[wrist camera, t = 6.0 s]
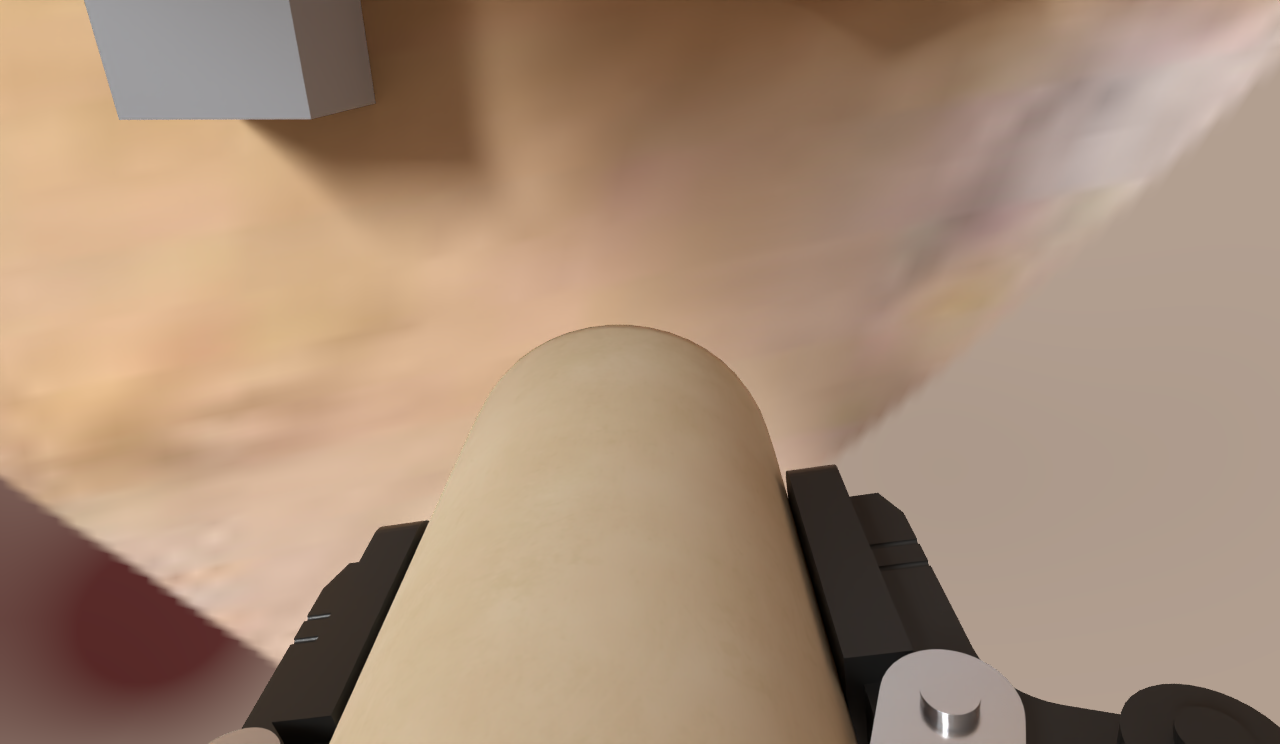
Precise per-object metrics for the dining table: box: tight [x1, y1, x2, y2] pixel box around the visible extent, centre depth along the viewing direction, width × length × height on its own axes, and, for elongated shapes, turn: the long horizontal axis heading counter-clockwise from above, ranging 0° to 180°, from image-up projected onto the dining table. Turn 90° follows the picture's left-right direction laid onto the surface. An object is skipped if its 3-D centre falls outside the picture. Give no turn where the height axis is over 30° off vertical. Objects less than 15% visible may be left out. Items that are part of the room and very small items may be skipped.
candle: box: [329, 325, 858, 744], centre depth 9 cm, size 6×6×10 cm
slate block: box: [84, 0, 376, 120], centre depth 20 cm, size 5×5×5 cm
